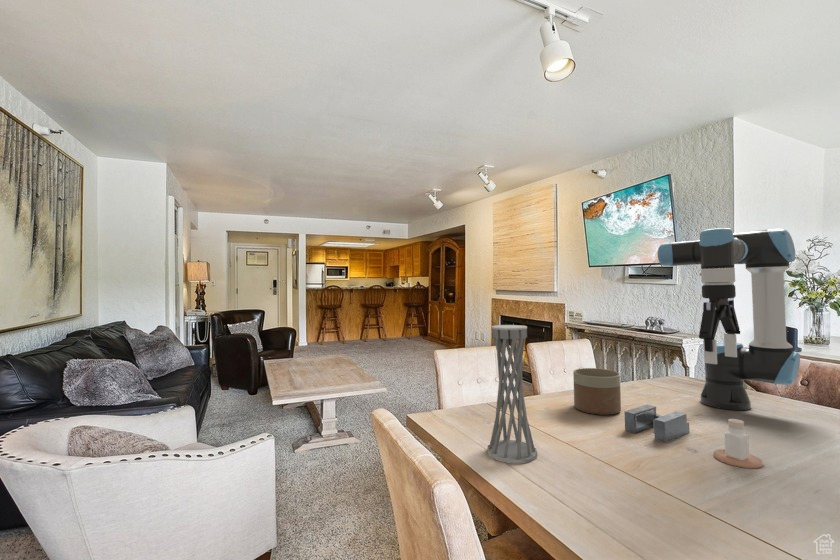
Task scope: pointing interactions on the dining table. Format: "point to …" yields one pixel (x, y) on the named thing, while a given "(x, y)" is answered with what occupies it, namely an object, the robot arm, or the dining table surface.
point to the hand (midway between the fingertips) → (721, 360)
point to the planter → (597, 391)
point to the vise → (656, 423)
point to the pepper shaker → (736, 440)
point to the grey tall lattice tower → (510, 448)
